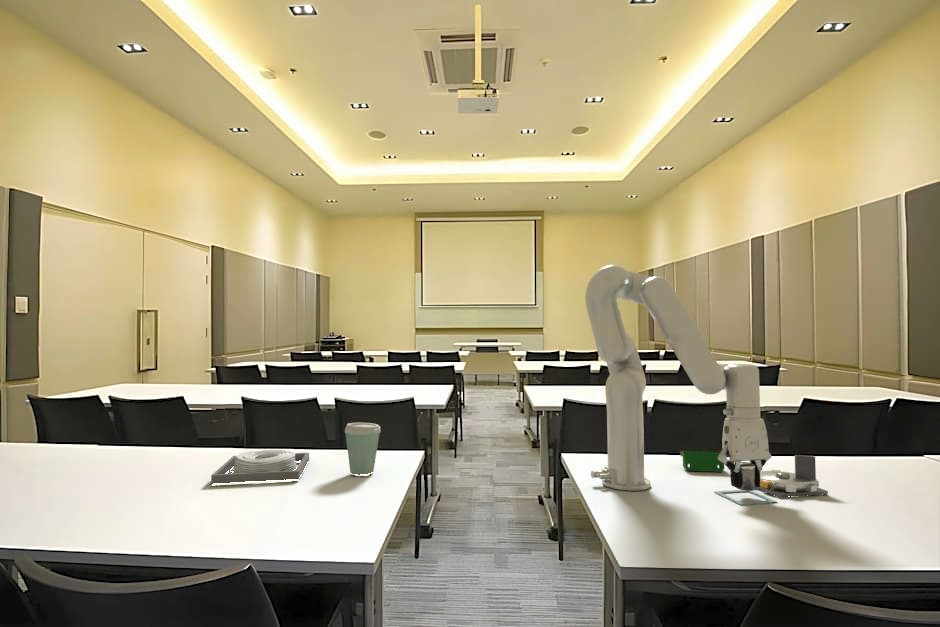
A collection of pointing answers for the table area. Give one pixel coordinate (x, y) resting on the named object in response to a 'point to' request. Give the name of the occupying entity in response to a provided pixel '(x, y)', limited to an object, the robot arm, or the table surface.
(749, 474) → the silver metal cylinder
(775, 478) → the sprocket
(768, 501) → the seat bay
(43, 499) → the table surface
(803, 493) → the sprocket base
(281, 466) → the cable
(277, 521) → the table surface
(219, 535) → the table surface
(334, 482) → the table surface
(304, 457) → the cable tray
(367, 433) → the disposable coffee cup
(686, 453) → the green mounting bracket
